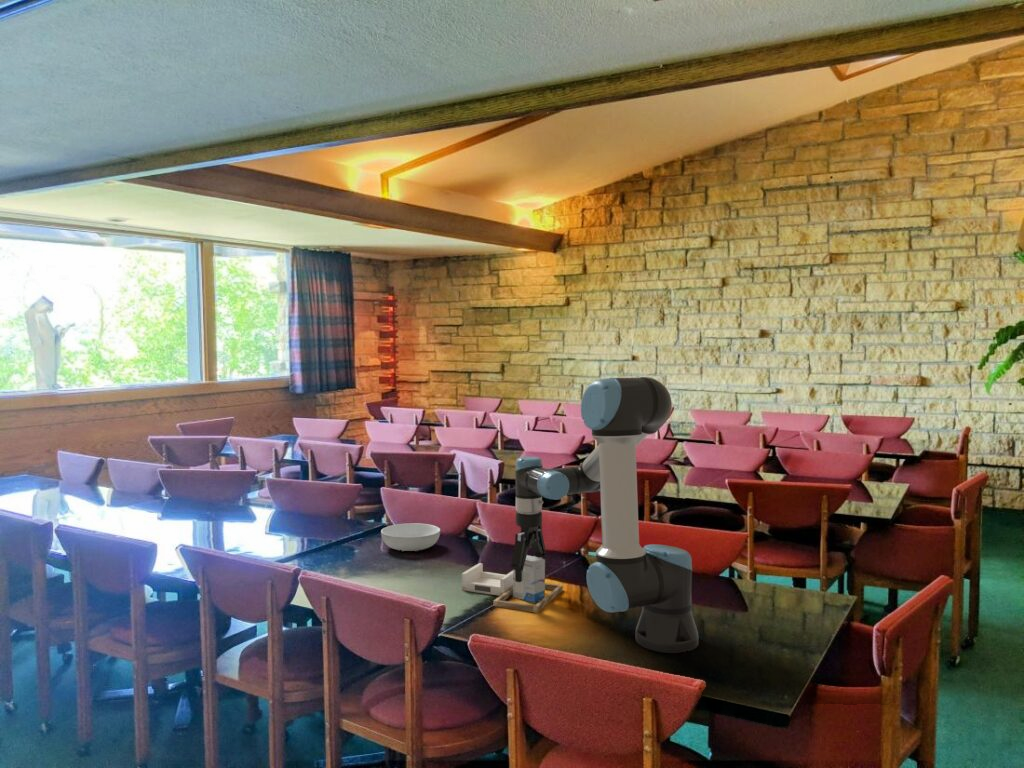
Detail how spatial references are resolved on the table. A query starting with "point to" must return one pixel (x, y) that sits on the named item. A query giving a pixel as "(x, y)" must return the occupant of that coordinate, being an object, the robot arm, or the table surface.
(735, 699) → the table surface
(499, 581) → the tray
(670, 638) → the robot arm
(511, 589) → the tray frame
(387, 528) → the serving bowl
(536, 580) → the ink box
